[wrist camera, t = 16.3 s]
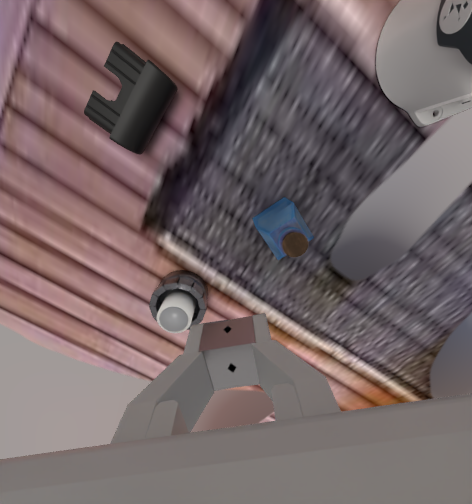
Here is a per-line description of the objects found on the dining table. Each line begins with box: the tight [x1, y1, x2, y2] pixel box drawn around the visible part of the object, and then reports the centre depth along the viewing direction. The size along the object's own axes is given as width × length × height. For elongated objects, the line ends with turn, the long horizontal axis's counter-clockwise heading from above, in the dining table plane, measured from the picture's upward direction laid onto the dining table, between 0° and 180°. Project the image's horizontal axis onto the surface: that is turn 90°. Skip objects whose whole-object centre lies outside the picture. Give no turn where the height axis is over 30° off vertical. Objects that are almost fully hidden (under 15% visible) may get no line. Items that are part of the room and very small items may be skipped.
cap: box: [157, 288, 196, 333], centre depth 39 cm, size 5×5×5 cm
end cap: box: [84, 42, 177, 154], centre depth 31 cm, size 10×7×7 cm
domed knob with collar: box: [149, 270, 208, 330], centre depth 42 cm, size 9×9×5 cm
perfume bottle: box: [252, 197, 314, 260], centre depth 34 cm, size 6×6×12 cm
